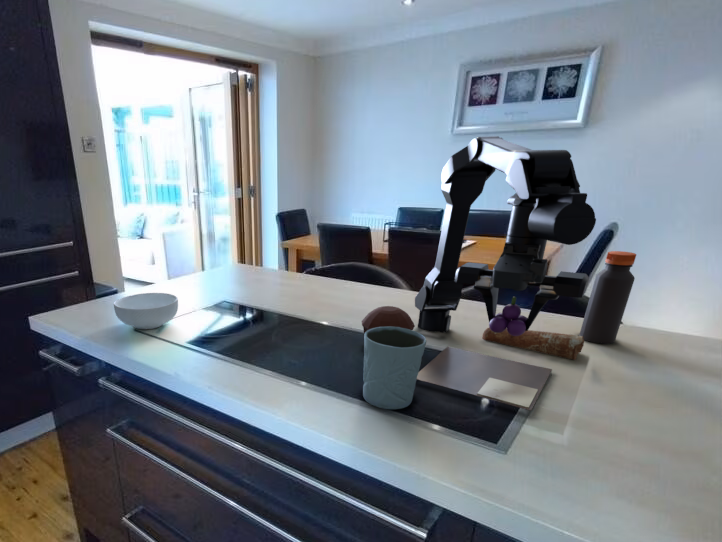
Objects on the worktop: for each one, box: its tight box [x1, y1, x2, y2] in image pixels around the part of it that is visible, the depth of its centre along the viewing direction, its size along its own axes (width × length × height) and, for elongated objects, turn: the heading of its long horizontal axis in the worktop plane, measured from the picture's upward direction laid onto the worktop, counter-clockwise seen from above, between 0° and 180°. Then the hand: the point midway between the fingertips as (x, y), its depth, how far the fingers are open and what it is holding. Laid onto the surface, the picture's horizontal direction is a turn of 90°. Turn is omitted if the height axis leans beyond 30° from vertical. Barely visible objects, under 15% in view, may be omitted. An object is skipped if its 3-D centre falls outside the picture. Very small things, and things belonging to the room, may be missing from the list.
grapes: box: [488, 296, 528, 336], centre depth 76 cm, size 6×6×6 cm
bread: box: [482, 326, 585, 361], centre depth 96 cm, size 6×19×6 cm, turn 46°
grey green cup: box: [362, 327, 427, 410], centre depth 77 cm, size 10×10×12 cm
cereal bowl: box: [113, 292, 179, 330], centre depth 119 cm, size 17×17×7 cm
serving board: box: [417, 346, 553, 411], centre depth 85 cm, size 20×20×1 cm
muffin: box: [361, 305, 416, 335], centre depth 98 cm, size 12×11×10 cm
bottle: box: [579, 250, 637, 345], centre depth 99 cm, size 7×7×20 cm
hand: (508, 327), depth 77 cm, fingers closed on grapes, 5 cm apart
